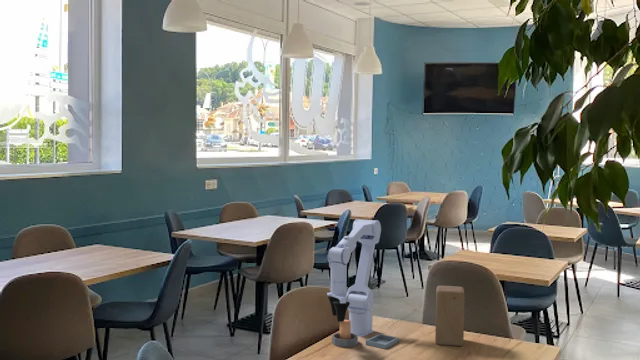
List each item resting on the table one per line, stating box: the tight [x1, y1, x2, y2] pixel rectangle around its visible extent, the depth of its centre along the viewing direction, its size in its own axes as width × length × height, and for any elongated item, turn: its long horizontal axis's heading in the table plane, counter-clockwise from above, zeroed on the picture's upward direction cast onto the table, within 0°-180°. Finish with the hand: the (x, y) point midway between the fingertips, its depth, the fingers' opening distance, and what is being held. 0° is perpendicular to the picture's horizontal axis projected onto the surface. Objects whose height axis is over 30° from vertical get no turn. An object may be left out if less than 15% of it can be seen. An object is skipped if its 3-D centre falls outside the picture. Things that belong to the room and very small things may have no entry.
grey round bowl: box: [331, 332, 359, 348], centre depth 222 cm, size 9×9×3 cm
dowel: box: [339, 319, 351, 340], centre depth 222 cm, size 4×4×8 cm
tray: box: [365, 333, 400, 350], centre depth 222 cm, size 10×8×2 cm
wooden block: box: [434, 285, 465, 347], centre depth 226 cm, size 10×10×20 cm
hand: (338, 318), depth 220 cm, fingers open, 7 cm apart
